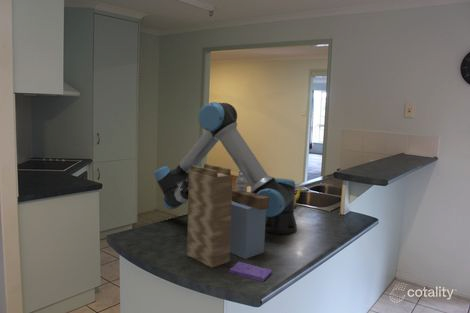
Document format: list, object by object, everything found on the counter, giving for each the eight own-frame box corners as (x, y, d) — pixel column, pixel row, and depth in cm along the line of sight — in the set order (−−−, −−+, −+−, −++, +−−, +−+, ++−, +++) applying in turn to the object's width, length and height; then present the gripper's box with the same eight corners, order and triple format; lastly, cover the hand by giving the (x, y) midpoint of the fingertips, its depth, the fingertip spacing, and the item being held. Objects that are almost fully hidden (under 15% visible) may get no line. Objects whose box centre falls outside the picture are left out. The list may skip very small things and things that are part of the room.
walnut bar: (215, 196, 151) (216, 186, 150) (223, 195, 154) (223, 185, 153) (261, 210, 134) (262, 198, 133) (268, 208, 137) (269, 197, 136)
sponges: (263, 283, 120) (263, 277, 120) (228, 273, 126) (228, 268, 126) (272, 275, 126) (272, 269, 126) (238, 266, 132) (238, 261, 132)
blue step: (226, 250, 144) (228, 203, 142) (244, 244, 151) (246, 199, 149) (245, 259, 137) (247, 209, 135) (263, 252, 144) (266, 204, 142)
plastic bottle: (246, 210, 199) (247, 173, 197) (233, 209, 201) (234, 172, 198) (248, 207, 206) (249, 171, 203) (235, 206, 207) (237, 170, 204)
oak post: (187, 255, 139) (188, 165, 134) (204, 249, 144) (206, 163, 140) (212, 267, 129) (215, 171, 124) (229, 261, 134) (232, 169, 130)
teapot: (289, 212, 200) (290, 190, 199) (267, 206, 209) (268, 185, 208) (302, 207, 211) (304, 186, 210) (280, 202, 220) (281, 182, 218)
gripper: (210, 195, 177) (239, 179, 162) (165, 204, 159) (193, 186, 145) (205, 180, 178) (233, 162, 164) (160, 187, 161) (187, 168, 147)
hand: (214, 174), depth 154 cm, fingers open, 13 cm apart
